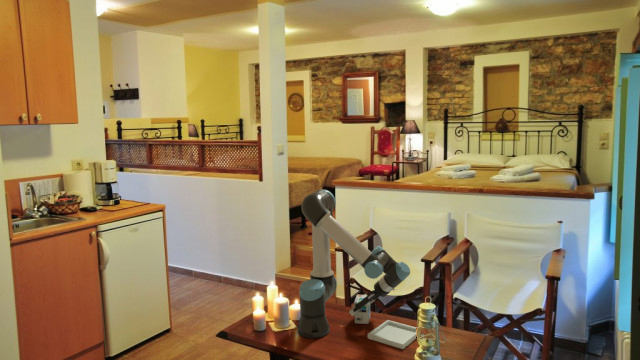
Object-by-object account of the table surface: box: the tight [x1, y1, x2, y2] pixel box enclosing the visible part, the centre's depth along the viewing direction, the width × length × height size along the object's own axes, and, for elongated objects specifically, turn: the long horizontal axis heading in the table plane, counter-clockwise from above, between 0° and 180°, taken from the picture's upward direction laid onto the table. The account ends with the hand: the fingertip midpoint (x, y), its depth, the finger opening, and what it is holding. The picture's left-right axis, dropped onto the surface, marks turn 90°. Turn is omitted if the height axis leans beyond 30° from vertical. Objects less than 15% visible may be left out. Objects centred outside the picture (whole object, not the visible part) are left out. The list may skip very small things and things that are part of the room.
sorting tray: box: [367, 319, 417, 350], centre depth 227 cm, size 18×18×2 cm
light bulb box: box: [353, 294, 371, 325], centre depth 245 cm, size 11×7×11 cm, turn 168°
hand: (358, 309), depth 247 cm, fingers closed on light bulb box, 12 cm apart
